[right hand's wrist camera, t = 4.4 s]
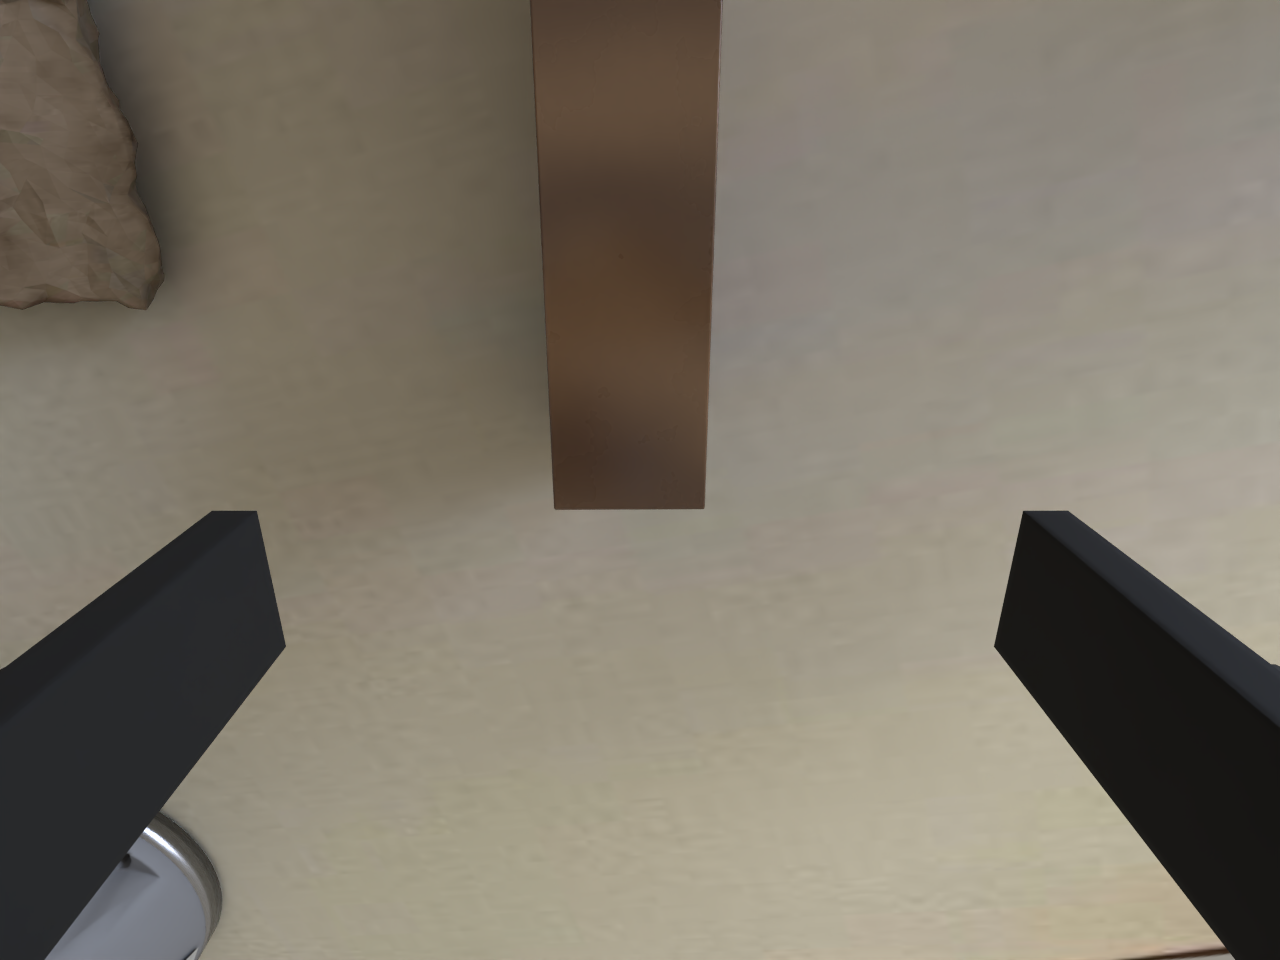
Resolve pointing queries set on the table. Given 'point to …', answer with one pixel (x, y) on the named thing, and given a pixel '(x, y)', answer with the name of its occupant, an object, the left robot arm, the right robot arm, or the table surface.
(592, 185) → the bar
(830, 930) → the table surface
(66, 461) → the table surface
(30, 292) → the stone
